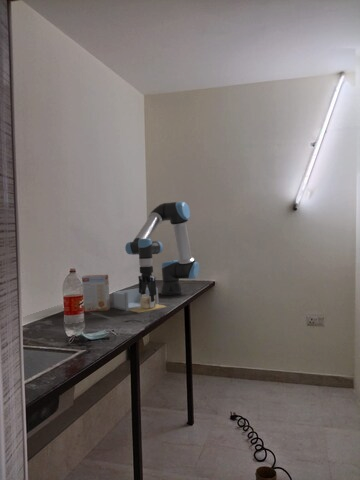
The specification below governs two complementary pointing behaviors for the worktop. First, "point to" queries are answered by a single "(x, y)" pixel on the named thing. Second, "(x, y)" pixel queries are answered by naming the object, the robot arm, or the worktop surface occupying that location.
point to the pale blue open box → (130, 299)
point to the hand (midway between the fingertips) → (148, 306)
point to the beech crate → (146, 302)
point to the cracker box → (96, 293)
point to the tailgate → (147, 309)
